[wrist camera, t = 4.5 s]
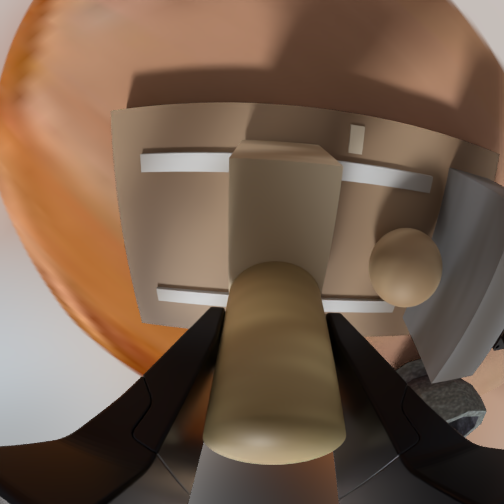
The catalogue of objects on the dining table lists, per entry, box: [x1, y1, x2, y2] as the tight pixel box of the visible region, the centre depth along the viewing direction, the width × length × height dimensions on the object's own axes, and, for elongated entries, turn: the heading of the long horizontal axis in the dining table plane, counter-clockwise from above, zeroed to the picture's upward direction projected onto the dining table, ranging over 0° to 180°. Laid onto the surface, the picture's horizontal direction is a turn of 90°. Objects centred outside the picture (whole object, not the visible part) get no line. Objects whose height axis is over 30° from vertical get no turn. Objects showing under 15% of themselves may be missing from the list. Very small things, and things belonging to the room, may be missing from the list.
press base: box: [111, 102, 504, 384], centre depth 12 cm, size 19×12×6 cm, turn 88°
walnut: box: [368, 228, 443, 307], centre depth 11 cm, size 4×4×4 cm
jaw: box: [203, 140, 346, 465], centre depth 9 cm, size 3×9×9 cm, turn 178°
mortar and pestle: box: [396, 359, 486, 437], centre depth 16 cm, size 11×9×12 cm
